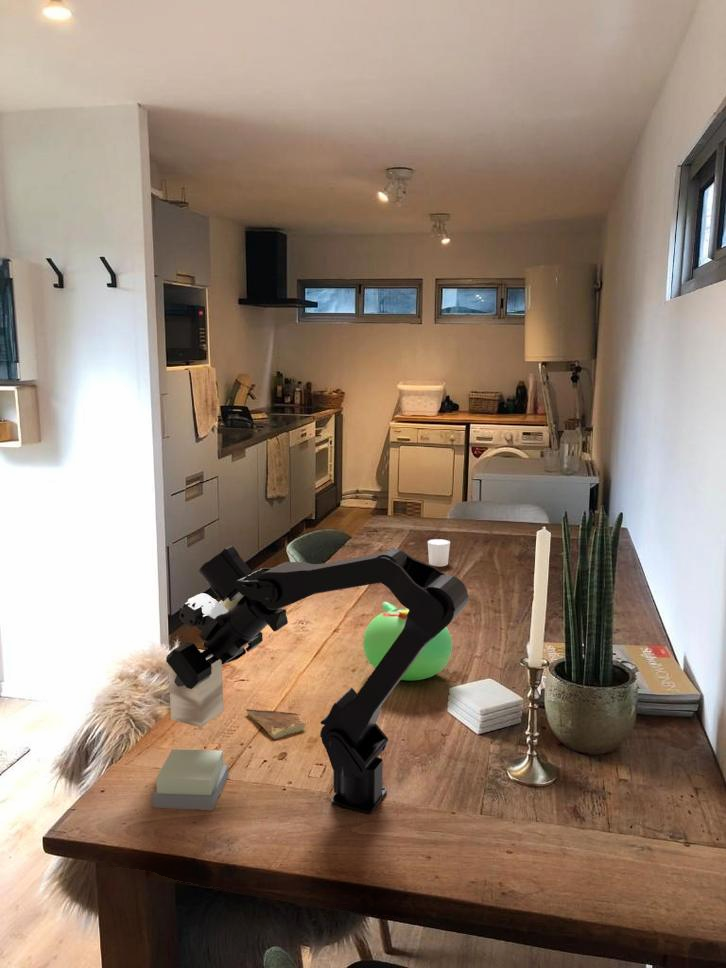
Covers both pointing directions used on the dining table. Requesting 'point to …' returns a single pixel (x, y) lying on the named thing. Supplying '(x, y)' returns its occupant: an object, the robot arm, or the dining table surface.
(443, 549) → the white short cylinder
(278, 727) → the shard
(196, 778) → the tower top slab
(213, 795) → the tower bottom slab
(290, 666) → the dining table surface
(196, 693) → the maple column
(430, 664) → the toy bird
